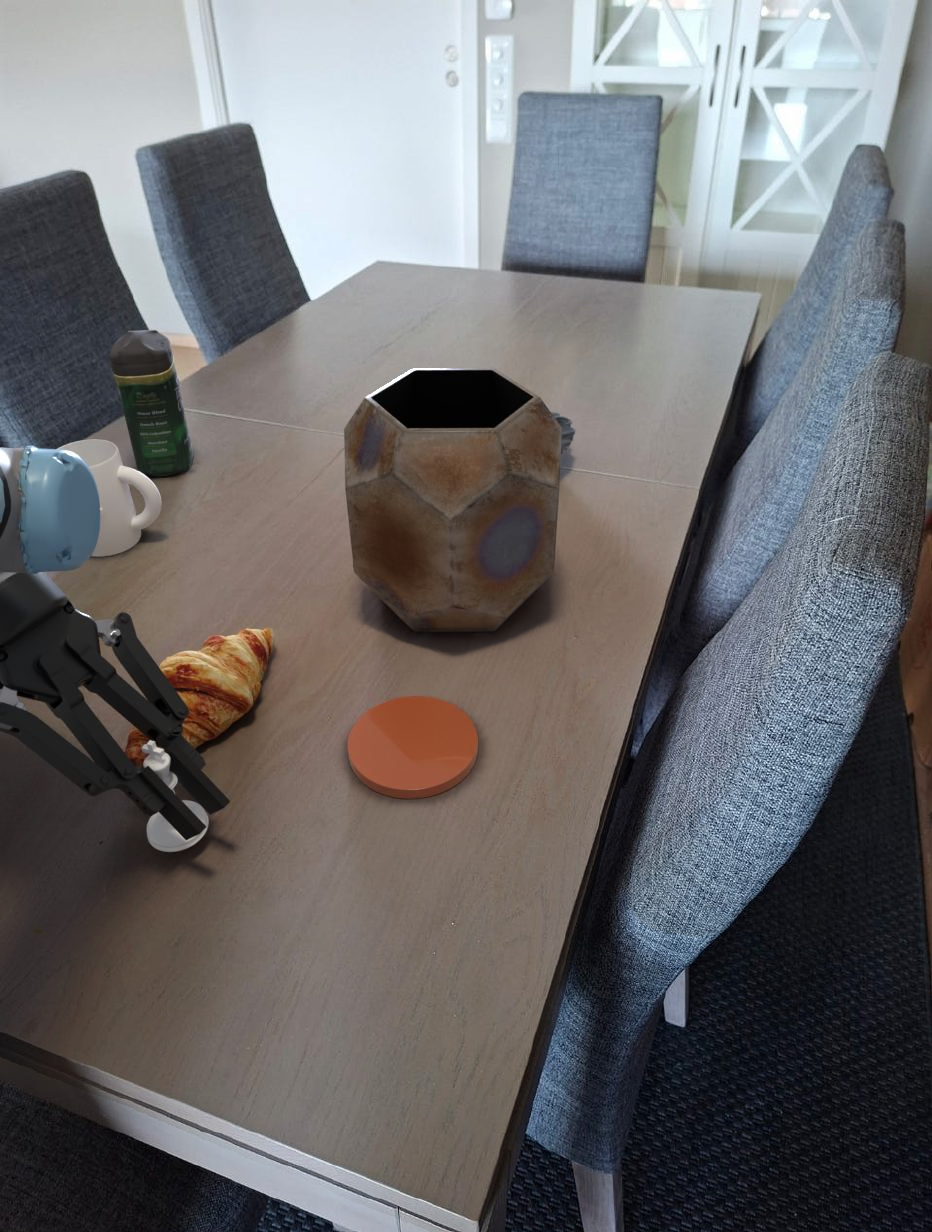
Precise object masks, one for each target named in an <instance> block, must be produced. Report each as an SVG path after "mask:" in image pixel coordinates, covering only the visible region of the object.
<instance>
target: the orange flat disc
mask: <svg viewBox="0 0 932 1232" xmlns="http://www.w3.org/2000/svg"><path fill="white" fill-rule="evenodd" d="M478 751H479V738H478V731H477V729H476V726H475V724H474V722H473V720H472V719H471V718H470V716H469V715H468V714H466V712H464V711H463V710H462V709H461V708H460V707H458V706H457V705H454V704H453V703H451V702H448V701H446V700H443V699H440V698H437V697H432V696H425V695H410V696H408V695H407V696H401V697H396V698H392V699H389V700H386V701H383V702H381V703H379V704H377V705H375V706H373V707H371V708H370V709H369V710H367V711H366V712H364V713H363V714H362V715H361V716H360V717H359V718H358V719H357V721H356V722H355V723H354V724H353V726H352V728H351V731H350V732H349V735H348V740H347V755H348V761H349V765H350V768H351V770H352V771H353V773H354V775H355V776H356V778H357V779H358V780H359V781H360V782H361V783H362V784H363V785H364V786H366V787H367V788H369V789H370V790H372V791H374V792H376V793H378V794H381V795H383V796H386V797H391V798H397V799H405V800H412V799H414V800H415V799H423V798H428V797H429V798H430V797H433V796H437V795H439V794H442V793H444V792H446V791H448V790H450V789H452V788H454V787H455V786H457V785H458V784H459V783H461V782H462V781H463V780H464V779H465V778H466V777H467V776H469V774H470V772H471V771H472V769H473V768H474V766H475V765H476V764H475V763H476V761H477V757H478V754H479V753H478Z"/></svg>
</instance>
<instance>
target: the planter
mask: <svg viewBox="0 0 932 1232" xmlns="http://www.w3.org/2000/svg"><path fill="white" fill-rule="evenodd" d="M551 412H552V411H551V410H550V408H549V407H548V406H547V405H546V403H545V402H544V401H543V399H542V398H541V397H540V396H539V395H538V394H535V392H533V391H531V390H529V389H528V388H527V387H525V386H523V385H521V384H520V383H519V382H517V381H516V380H514V379H513V378H510V377H509V376H508V375H506V374H504V373H503V372H501V371H500V370H498V369H497V368H493V367H491V368H490V367H489V368H488V367H487V368H480V367H479V368H478V367H477V368H476V367H475V368H471V367H470V368H467V367H466V368H412V369H410V370H408V371H407V372H404V374H402V375H400V376H398V377H397V378H395V379H393V380H392V381H391V382H389V383H387V384H385V385H384V386H382V387H380V388H379V389H377V390H376V391H374V392H372V393H371V394H368V395H367V396H366V397H363V399H362V401H361V402H360V404H359V406H358V407H357V409H356V410H355V411H354V413H353V414H352V416H351V417H350V419H349V421H348V422H347V423H346V425H345V427H344V429H343V437H344V441H343V442H344V489H345V500H346V508H347V518H348V528H349V529H348V530H349V537H350V547H351V556H352V566H353V573H354V574H355V575H356V576H357V577H358V579H360V580H361V581H362V582H363V583H364V584H365V585H366V586H367V587H368V588H369V589H370V590H371V591H372V592H373V593H374V594H375V595H376V596H377V597H378V598H379V599H380V600H381V601H382V602H383V603H384V604H385V605H386V606H387V607H388V608H389V609H390V610H391V611H392V612H393V613H394V614H395V615H397V616H398V618H399V619H400V620H401V621H403V622H404V623H405V625H406V626H408V627H409V628H410V629H411V630H412V632H418V633H419V632H421V633H422V632H426V633H427V632H428V633H429V632H430V633H431V632H435V633H438V632H440V633H441V632H443V633H444V632H445V633H447V632H449V633H451V632H453V633H454V632H456V633H458V632H461V633H462V632H463V633H464V632H467V633H468V632H469V633H470V632H472V633H473V632H475V633H476V632H479V633H481V632H482V633H483V632H492V633H493V632H496V631H497V630H499V628H500V627H501V626H502V625H503V624H504V623H505V621H506V620H507V619H508V618H509V617H510V616H511V615H512V614H514V612H515V611H517V610H518V608H519V607H520V606H521V605H523V604H524V602H525V601H527V599H528V598H530V596H531V595H533V594H534V593H535V592H536V591H537V590H538V589H539V588H540V586H542V585H543V584H544V583H545V582H546V581H547V580H548V579H549V578H550V577H551V576H552V575H553V574H554V572H555V564H556V563H555V562H556V548H557V532H558V517H559V501H560V484H561V458H562V457H561V456H562V454H561V436H562V427H561V426H560V424H559V423H558V422H557V420H556V419H555V417H554V416H553V415H552V413H551Z"/></svg>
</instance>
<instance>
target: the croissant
mask: <svg viewBox="0 0 932 1232" xmlns="http://www.w3.org/2000/svg"><path fill="white" fill-rule="evenodd" d="M275 642H276V635H275V632H274V630H273V628H271V627H266V628H264V629H259V628H244V629H240V630H239V632H238V633H237V634H232V635H230V634H229V635H227V636H225V635H217V634H212V635H210V636H208V637H207V638H206V639H204V641H203V646H202V648H201V650H183V651H180V652H177V653H175V654H173V655H171V656H166V657H165V658H164V660H163V661H162V662H160V663H159V665H158V667H159V668H160V669H161V671H162V672H163V674H164V675H165V676H166V678H167V679H168V680H169V682H170V683H171V685H172V686H173V687H174V689H175V690H176V691H177V693H178V694H179V696H180V697H181V698H182V700H183V701H184V702H185V704H186V705H187V707H188V708H189V715H188V716H187V717H186V718H185V720H184V722H183V724H182V725H183V733H182V736H183V737H184V738H185V739H186V740H187V741H188V743H189V744H190V745H191V746H192V747H193V748H194V749H195V750H196V749H197V747H199V746H202V745H203V744H204V743H205V742H207V741H212V740H214V739H215V738H218V737H219V736H220V735H221V734H222V733H224V732H225V731H227V729H228V728H229V727H231V725H232V724H233V723H235V722H236V721H238V720H239V719H241V718H242V717H243V716H244V714H247V713H248V712H249V711H250V710H251V708H252V707H253V706H254V703H255V702H256V701H257V699H258V697H259V694H260V692H261V689H262V684H261V681H262V680H263V678H264V674H265V673H266V671H267V668H268V661H269V659H270V657H271V655H272V653H273V649H274V645H275ZM144 698H146V697H145V696H144ZM146 699H147V698H146ZM149 741H150V739H149V738H147V737H146V736H145V735H144V734H143V733H142V732H140V731H139V730H138V729H137V728H136V727H135V726H133V727H132V728H131V730H130V731H129V733H128V736H127V743H126V747H125V748H124V749H125V750H124V753H125V754H126V755H127V756H128V758H129V759H130V760H131V762H132V763H133V764H134V765H135V767H139V766H140V767H144V766H143V763H144V760H145V758H146V757H147V756H149V755H150V754H148V753H144V752H143V751H142V747H143V746H144V745H145V744H146V745H147V743H148V742H149ZM156 747H158V748H161V749H163V748H162V747H160V746H157V745H156Z"/></svg>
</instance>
